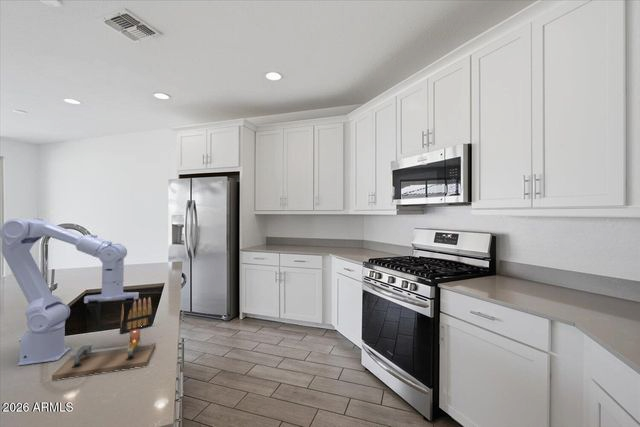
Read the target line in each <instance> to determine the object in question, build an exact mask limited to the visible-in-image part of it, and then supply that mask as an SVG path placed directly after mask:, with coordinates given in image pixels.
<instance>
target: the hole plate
mask: <svg viewBox="0 0 640 427" xmlns="http://www.w3.org/2000/svg"><path fill="white" fill-rule="evenodd" d="M151 343H152V348H151V350H144V351H136V352H133V357H132V358H130V359H128V353H121V354H114V355H106V356H99V357H91V358H83V359H80V363H79V366H78V367H74V360H69V359H67V360H66V361H65V362H64V364H62V365H61V366H60V367H59V368H58V369H57V370H56V371H55V372H54V373H53V374H51V381H52V380H55V381H58V380H57V379H62V378H69V377H75V378H77V377H76V376H82V375H89V374H95V373H102V372H109V373H111V372H110V371H115V370H122V369H128V370H131V369H130V368H135V367H142V368H144V367H143V366H148V364H149V362H150V360H151V358H152V356H151V355H153V354H154V351H155V350H156V342H154V343H153V342H151ZM152 353H153V354H152ZM150 357H151V358H150ZM135 369H136V368H135ZM122 371H123V370H122ZM115 372H116V371H115ZM102 374H103V373H102ZM95 375H96V374H95ZM89 376H90V375H89ZM82 377H83V376H82ZM69 379H70V378H69ZM62 380H63V379H62Z"/></svg>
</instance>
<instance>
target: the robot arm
mask: <svg viewBox="0 0 640 427" xmlns="http://www.w3.org/2000/svg"><path fill="white" fill-rule="evenodd" d="M44 237H49V238H51V239H55V240H59V241H61V242H65V243H67V244H70V245H74V246H75V248H76V250H77V251H79V252H80V253H83V254H86V255H90V256H92V257H95V258H98V259H99V261H100V262H101V264H102V267H101V268H102V269H101V293H100V294H92V295H86V296H84V297H83V303H84V304H87V305H86V308H87V310H88V311H89V312H90V314H91V316H92V319H93V321H94V325H95V326H98V325H100V323H101V309H102V304H103V303H102V302H110V301H111V302H112V301H123V300H124V301H123V302H122V304H123V308H124V317H123V322H127V320H128V316H129V312H130V310H131V311H132V308H133V303H134V301H135V300H139V299H140V298H139V294H140V292H137V291H135V292H133V291H131V292H130V291H128V292H127V291H124V272H125V271H124V267H125V266H124V265H125V264H124V263H125V258H126V257H127V255H128V249H127V248H126V247H125V245H123V244H122V243H113V241H111V240H104V239H102V238H99V237H98V235H97V234H95V233H93V234H85V235H84V234H83V235H80V234H78V233H76V232H74V231H72V230H69V229H67V228H64V227H62V226H59V224H58V225H57V224H55V223H53V222H51V221H47V220H43V219H41V218H28V219H27V218H22V219H21V218H11V219H8V220H7V221H5V222H4V223H3V224H2V226H1V227H0V238H1V250H0V251H1V254H2V256H3V258H4V260H5V262H6V263H7V266H8V267H9V269H10V271H11V273H12V274H13V276H14V278H15V280H16V282H17V284H18V286H19V288H20V291H22V293H23V295H24V298H26V301H27V303H28V306H27V308H26V309H25V312H24V315H25V316H26V326H27V328H28V330H27V331H25V332H24V333H23V334H22V336H21V338H20V342H19V362H18V363H17V365H18V366H24V365H32V364H38V363H39V364H41V363H45V362H46V363H47V362H55V361H59V360H60V359H61V358H62V357H63V356H64V355H65V354H66V353H67V352H69V351H70V350H71V348H70V347H65V335H66V333H65V332H66V331H65V330H66V329H65V328H66V326H65V325H66V320H67V319H68V318H69V317H70V314H71V309H70V306H68V304H66V303H64V302H63V300H62V299H61V297H59V296H56V295H54V294H53V293H52V291H51V290H50V288H49V286H48V284H47V282H46V279H45V278H44V276H43V274H42V272H41V270H40V268H39V266H38V265H37V263H36V261H35V259H34V257H33V255H32V253H31V250H32V248H33V246H34V245H35V244H36V243H37V242H38V241H40V240H41V239H42V238H44Z"/></svg>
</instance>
